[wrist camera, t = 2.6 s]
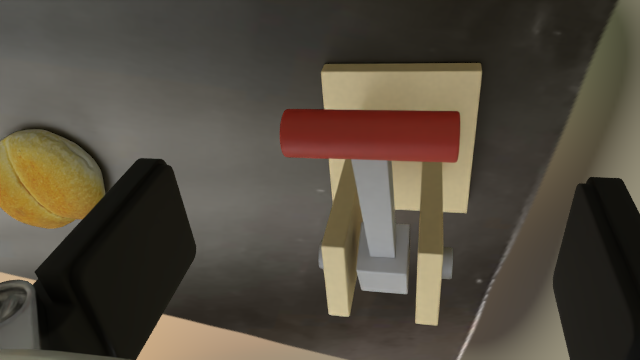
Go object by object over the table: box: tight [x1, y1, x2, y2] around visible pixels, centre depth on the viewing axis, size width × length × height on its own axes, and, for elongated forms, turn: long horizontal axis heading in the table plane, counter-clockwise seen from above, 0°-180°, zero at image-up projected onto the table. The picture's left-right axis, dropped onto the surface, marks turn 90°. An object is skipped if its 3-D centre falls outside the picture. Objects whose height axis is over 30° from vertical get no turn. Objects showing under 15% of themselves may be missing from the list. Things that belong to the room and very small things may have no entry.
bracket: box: [319, 63, 482, 325], centre depth 27 cm, size 10×9×13 cm
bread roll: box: [0, 129, 105, 228], centre depth 38 cm, size 8×9×4 cm
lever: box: [280, 109, 460, 294], centre depth 19 cm, size 12×5×2 cm, turn 5°
